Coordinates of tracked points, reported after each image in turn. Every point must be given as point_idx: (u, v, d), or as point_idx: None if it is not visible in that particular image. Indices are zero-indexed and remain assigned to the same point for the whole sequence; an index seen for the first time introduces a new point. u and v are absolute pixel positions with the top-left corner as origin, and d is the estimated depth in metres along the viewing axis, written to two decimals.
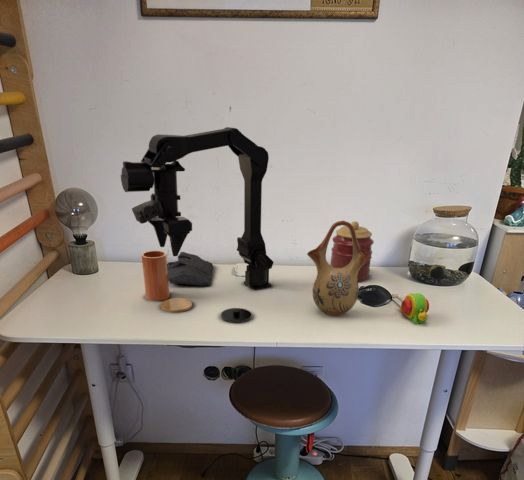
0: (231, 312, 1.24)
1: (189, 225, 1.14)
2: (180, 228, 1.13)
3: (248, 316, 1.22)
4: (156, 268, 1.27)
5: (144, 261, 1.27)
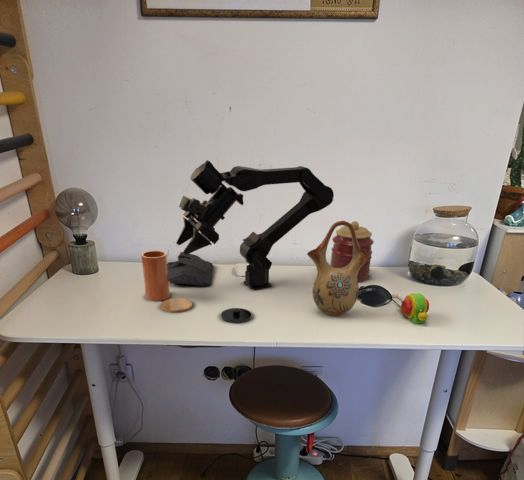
0: (231, 312, 1.24)
1: (216, 238, 1.23)
2: (208, 234, 1.22)
3: (248, 316, 1.22)
4: (156, 268, 1.27)
5: (144, 261, 1.27)
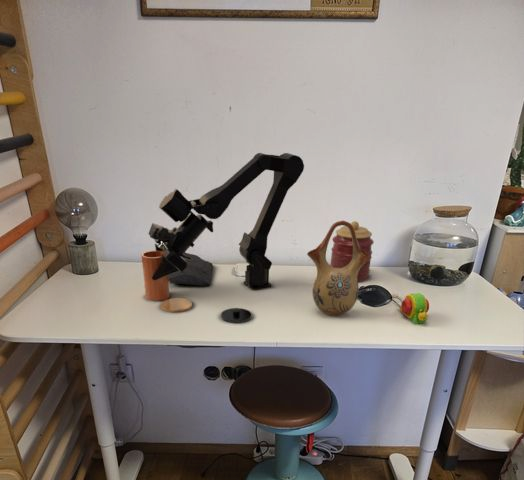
0: (231, 312, 1.24)
1: (184, 266, 1.23)
2: (176, 262, 1.22)
3: (248, 316, 1.22)
4: (156, 268, 1.27)
5: (144, 261, 1.27)
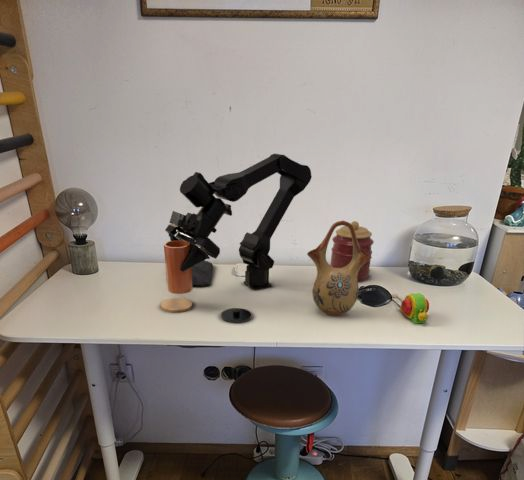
0: (231, 312, 1.24)
1: (218, 252, 1.18)
2: (211, 249, 1.16)
3: (248, 316, 1.22)
4: (183, 258, 1.19)
5: (170, 252, 1.18)
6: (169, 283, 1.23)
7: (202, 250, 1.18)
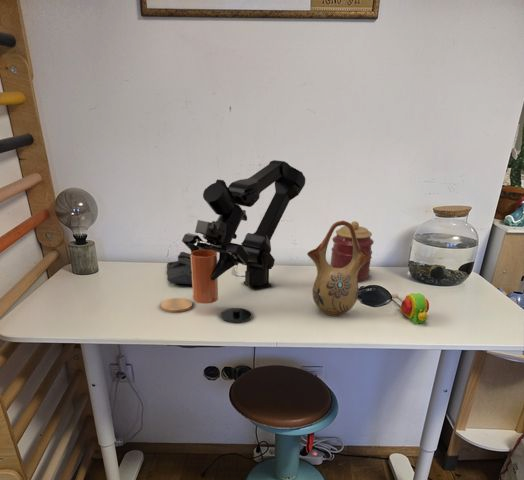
0: (231, 312, 1.24)
1: (248, 258, 1.19)
2: (243, 255, 1.17)
3: (248, 316, 1.22)
4: (214, 267, 1.18)
5: (201, 262, 1.16)
6: (198, 293, 1.21)
7: (233, 257, 1.18)
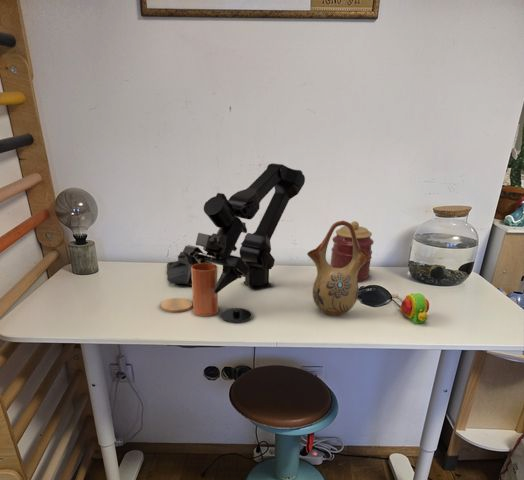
0: (231, 312, 1.24)
1: (247, 270, 1.21)
2: (243, 268, 1.18)
3: (248, 316, 1.22)
4: (214, 280, 1.20)
5: (201, 276, 1.18)
6: (198, 306, 1.22)
7: (236, 270, 1.19)
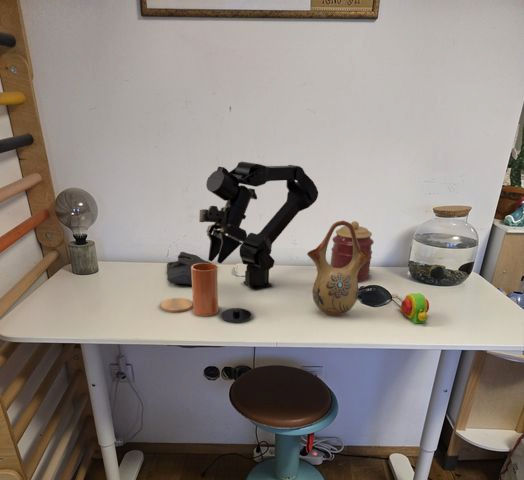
0: (231, 312, 1.24)
1: (244, 235, 1.20)
2: (235, 233, 1.19)
3: (248, 316, 1.22)
4: (214, 280, 1.20)
5: (201, 276, 1.18)
6: (198, 306, 1.22)
7: (231, 237, 1.20)
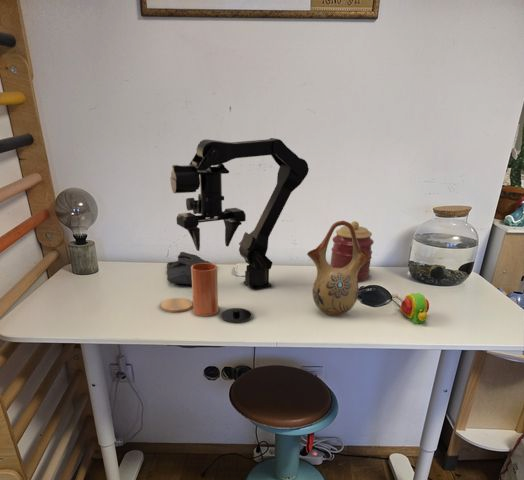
0: (231, 312, 1.24)
1: (183, 222, 1.22)
2: (180, 222, 1.24)
3: (248, 316, 1.22)
4: (214, 280, 1.20)
5: (201, 276, 1.18)
6: (198, 306, 1.22)
7: None
